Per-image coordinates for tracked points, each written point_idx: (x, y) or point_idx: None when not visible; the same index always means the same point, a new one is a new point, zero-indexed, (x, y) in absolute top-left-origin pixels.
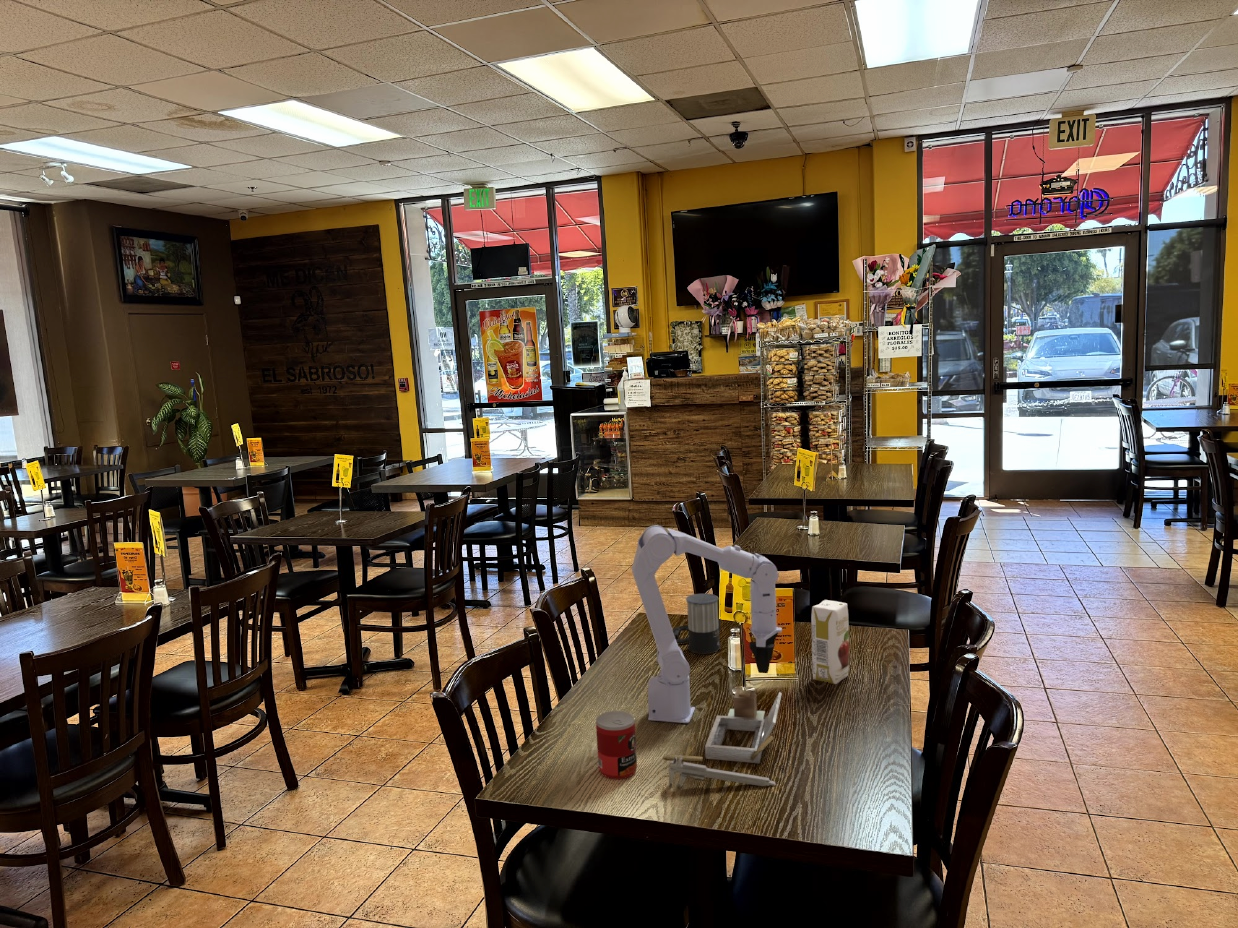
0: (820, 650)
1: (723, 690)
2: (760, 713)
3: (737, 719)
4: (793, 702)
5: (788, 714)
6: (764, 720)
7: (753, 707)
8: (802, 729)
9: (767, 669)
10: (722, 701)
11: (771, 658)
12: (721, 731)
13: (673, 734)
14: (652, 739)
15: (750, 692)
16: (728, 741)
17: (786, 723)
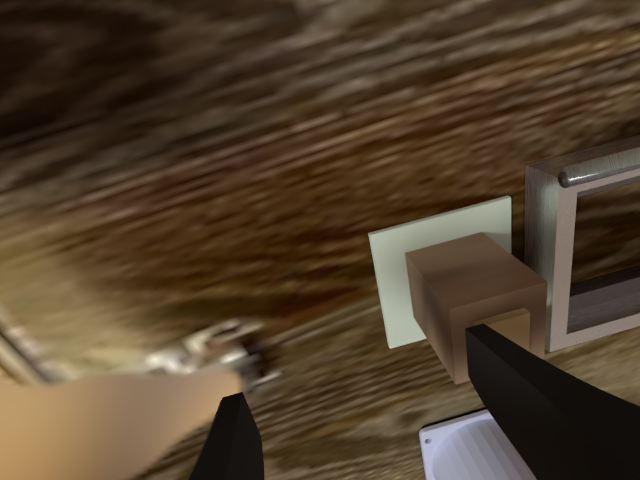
0: None
1: None
2: (396, 242)
3: (568, 280)
4: (213, 155)
5: (354, 133)
6: (606, 176)
7: (518, 262)
8: (491, 16)
9: (505, 340)
10: (328, 392)
11: (240, 404)
12: (598, 295)
13: None
14: None
15: (495, 321)
16: (623, 253)
17: (447, 111)
